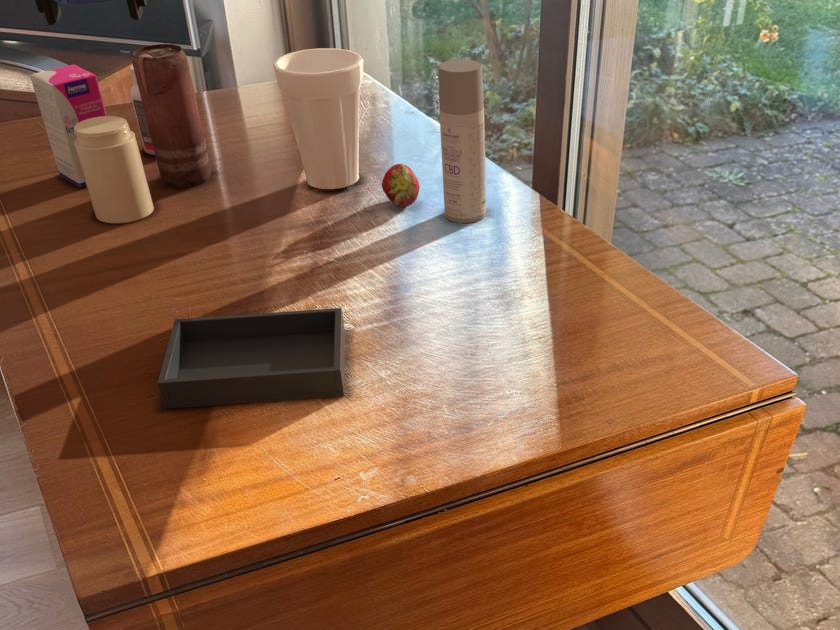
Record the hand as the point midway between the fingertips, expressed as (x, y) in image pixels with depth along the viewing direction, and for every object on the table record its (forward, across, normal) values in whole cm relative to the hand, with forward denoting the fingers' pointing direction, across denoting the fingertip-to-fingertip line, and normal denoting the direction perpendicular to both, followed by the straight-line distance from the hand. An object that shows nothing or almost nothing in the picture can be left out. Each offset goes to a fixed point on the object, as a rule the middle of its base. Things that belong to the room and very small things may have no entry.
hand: (96, 16), depth 90 cm
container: (+22, -34, -3) cm, 40 cm away
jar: (+22, +5, -11) cm, 25 cm away
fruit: (+22, -27, -7) cm, 36 cm away
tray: (+22, -12, +27) cm, 37 cm away
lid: (-3, 0, 0) cm, 3 cm away
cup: (+22, -19, -15) cm, 33 cm away
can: (+22, -1, -20) cm, 30 cm away
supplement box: (+22, +11, -23) cm, 34 cm away
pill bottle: (+22, +2, -31) cm, 38 cm away
